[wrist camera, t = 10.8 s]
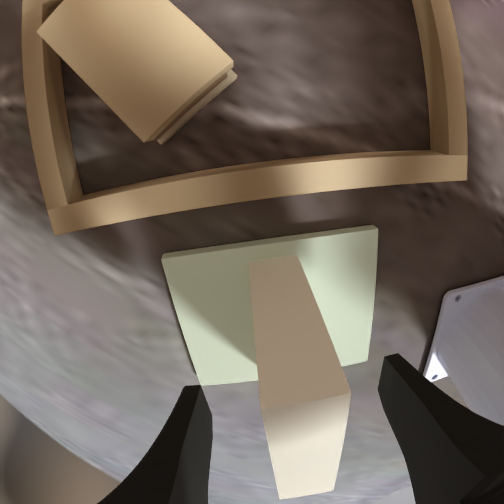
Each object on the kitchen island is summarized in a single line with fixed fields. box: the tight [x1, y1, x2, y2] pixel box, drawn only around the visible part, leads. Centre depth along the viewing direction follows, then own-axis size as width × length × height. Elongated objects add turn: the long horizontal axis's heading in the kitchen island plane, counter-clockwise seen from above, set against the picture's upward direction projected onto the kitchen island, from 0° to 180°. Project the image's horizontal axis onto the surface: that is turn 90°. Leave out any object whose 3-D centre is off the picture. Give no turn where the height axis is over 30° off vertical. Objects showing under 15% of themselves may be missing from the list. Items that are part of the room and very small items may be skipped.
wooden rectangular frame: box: [22, 0, 468, 235], centre depth 10 cm, size 19×12×2 cm, turn 97°
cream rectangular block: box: [248, 255, 351, 499], centre depth 12 cm, size 2×7×8 cm, turn 7°
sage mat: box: [161, 225, 378, 386], centre depth 16 cm, size 10×8×1 cm
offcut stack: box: [37, 0, 237, 144], centre depth 9 cm, size 4×7×4 cm, turn 41°
